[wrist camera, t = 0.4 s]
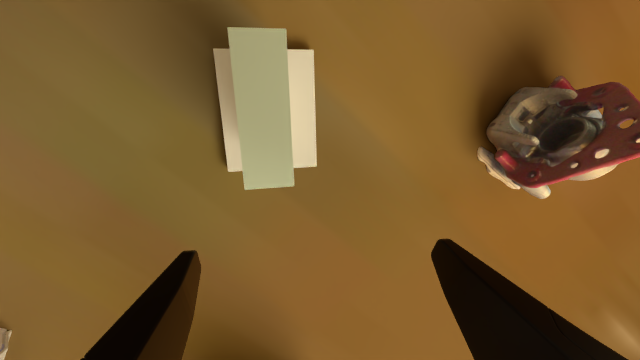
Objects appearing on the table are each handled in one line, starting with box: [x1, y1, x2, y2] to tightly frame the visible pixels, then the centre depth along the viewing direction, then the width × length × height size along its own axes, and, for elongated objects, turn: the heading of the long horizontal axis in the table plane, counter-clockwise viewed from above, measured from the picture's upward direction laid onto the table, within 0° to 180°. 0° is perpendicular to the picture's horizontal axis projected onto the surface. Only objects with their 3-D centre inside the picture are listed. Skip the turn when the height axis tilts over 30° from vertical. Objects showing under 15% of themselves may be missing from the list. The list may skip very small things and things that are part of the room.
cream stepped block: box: [213, 48, 317, 172], centre depth 20 cm, size 10×8×6 cm
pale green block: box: [227, 27, 294, 190], centre depth 14 cm, size 7×2×5 cm, turn 1°
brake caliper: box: [477, 76, 640, 199], centre depth 25 cm, size 11×11×12 cm
